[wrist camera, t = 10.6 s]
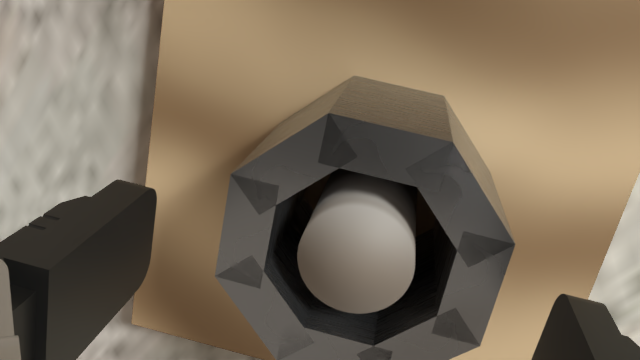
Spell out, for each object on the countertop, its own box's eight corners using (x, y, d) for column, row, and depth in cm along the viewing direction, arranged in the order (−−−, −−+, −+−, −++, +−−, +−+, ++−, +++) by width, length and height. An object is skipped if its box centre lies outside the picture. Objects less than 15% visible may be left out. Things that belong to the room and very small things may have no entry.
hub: (291, 61, 17) (242, 92, 12) (509, 110, 17) (543, 163, 12) (257, 252, 19) (204, 341, 14) (448, 301, 19) (457, 410, 14)
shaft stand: (195, -107, 17) (75, -152, 11) (686, -6, 16) (844, 4, 10) (149, 301, 22) (47, 423, 16) (525, 402, 21) (567, 574, 15)
